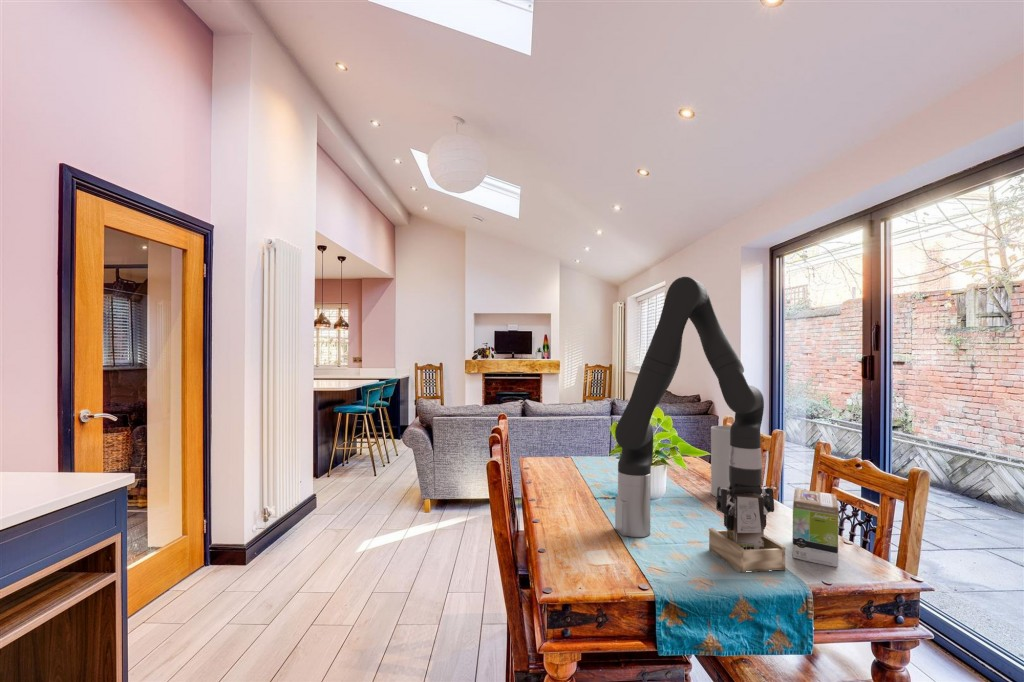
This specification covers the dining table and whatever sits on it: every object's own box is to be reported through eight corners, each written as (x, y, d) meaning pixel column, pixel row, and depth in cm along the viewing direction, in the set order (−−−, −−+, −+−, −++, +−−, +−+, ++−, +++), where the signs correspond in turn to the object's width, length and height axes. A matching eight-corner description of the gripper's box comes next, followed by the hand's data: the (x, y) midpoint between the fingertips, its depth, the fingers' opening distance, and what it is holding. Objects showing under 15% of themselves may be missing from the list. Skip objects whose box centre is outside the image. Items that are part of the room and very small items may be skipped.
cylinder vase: (715, 489, 184) (715, 424, 185) (751, 495, 177) (751, 428, 178) (707, 497, 174) (707, 428, 175) (744, 504, 167) (744, 432, 168)
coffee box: (765, 565, 116) (764, 497, 116) (736, 562, 117) (736, 496, 117) (752, 550, 125) (752, 487, 125) (726, 548, 126) (726, 486, 126)
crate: (739, 572, 113) (739, 548, 113) (708, 549, 127) (708, 528, 127) (785, 570, 114) (785, 547, 115) (749, 547, 128) (749, 526, 128)
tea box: (839, 568, 116) (839, 507, 117) (791, 559, 121) (791, 500, 122) (836, 548, 129) (836, 492, 129) (793, 540, 134) (793, 487, 135)
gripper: (727, 468, 117) (727, 535, 116) (781, 467, 118) (781, 533, 118) (710, 461, 124) (710, 524, 124) (761, 460, 126) (761, 523, 125)
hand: (745, 529), depth 121 cm, fingers open, 8 cm apart
